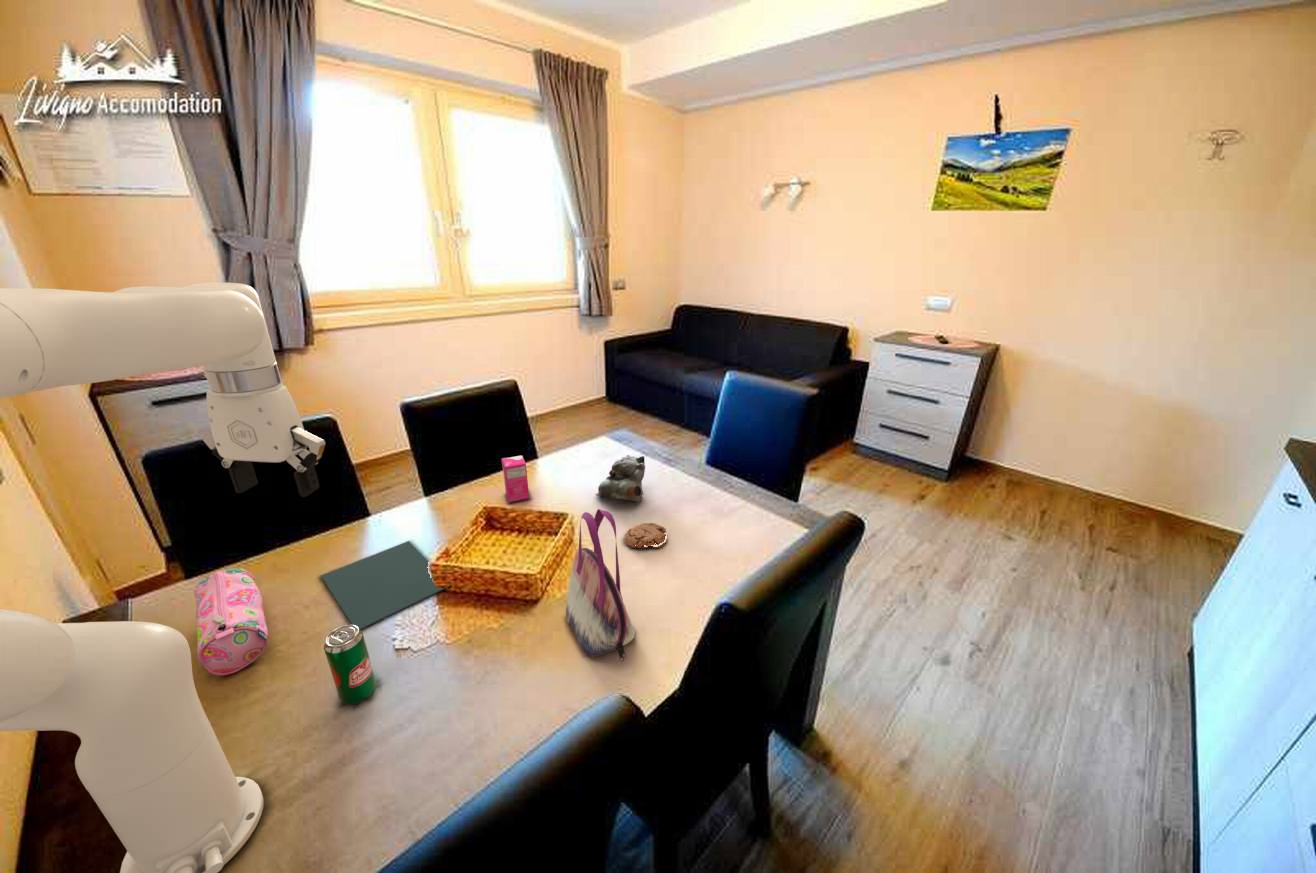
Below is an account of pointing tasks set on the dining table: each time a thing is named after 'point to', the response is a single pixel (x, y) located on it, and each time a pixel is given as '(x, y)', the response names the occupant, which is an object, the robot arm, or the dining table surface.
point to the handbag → (597, 597)
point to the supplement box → (515, 479)
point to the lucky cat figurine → (624, 480)
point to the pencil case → (229, 621)
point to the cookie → (645, 535)
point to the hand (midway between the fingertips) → (278, 490)
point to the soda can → (350, 664)
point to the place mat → (381, 584)
